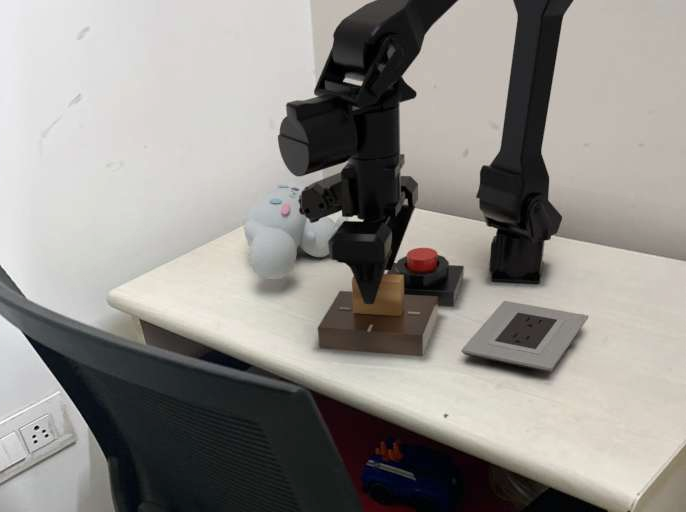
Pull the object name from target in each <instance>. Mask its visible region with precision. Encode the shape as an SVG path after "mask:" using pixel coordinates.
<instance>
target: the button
mask: <svg viewBox="0 0 686 512" xmlns="http://www.w3.org/2000/svg"><path fill="white" fill-rule="evenodd" d="M437 255H438V252H437V250H436V249H433V248H430V247H417V248H413V249H410V250H409V251H408V252H406V256H407V268H408V269H409V270H412V271H420V272H424V271H429V270H433V269H435V268H436V267H437Z"/></svg>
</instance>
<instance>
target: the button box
mask: <svg viewBox="0 0 686 512" xmlns="http://www.w3.org/2000/svg"><path fill="white" fill-rule="evenodd" d="M464 268H465V266H464V265H453V264H450V262H449V261H448V259H447V258H446V257H445V256H443V255H439V254H437V267H436V268H435V269H433V270H429V271H424V272H420V271H412V270H409V269H408V268H407V255H405V256H403V257H401V258H398V260H397V261H396V262H394V264H393V267H392V269H391V270H387V272H386V274H396V275H404V295H421V296H438V307H448V308H454V306H455V304H456V302H457V298H458V296H459V293H460V290H461V287H462V284H463V282H464V271H465V269H464Z"/></svg>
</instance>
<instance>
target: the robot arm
mask: <svg viewBox="0 0 686 512" xmlns="http://www.w3.org/2000/svg"><path fill="white" fill-rule="evenodd" d="M457 2H459V0H373V1H371V2H368V3H366V4H364V5H363V6H361V7H360V8H358V9H356V10H355V11H354V12H352V13H351V14H349V15H348V16H346V17H344V18H343V19H342V20H341V21H339V24H338V25H337V26H336V27H335V30H334V32H333V35H332V37H333V41H332V47H331V49H330V51H329V54H328V56H327V58H326V61H325V64H324V66H323V68H322V71H321V73H320V75H319V78H318V79H317V83H316V85H315V87H314V90H313V94H314V97H312V98H308V99H304V100H300V99H296V100H292V101H288V102H286V104H285V110H286V111H285V112H286V116H285V117H284V118H282V120H281V123H280V126H279V134H278V135H277V142H278V144H277V145H278V148H279V153H280V156H281V159H282V161H283V163H284V165H285V167H286V168H287V170H288V172H290V173H291V174H292V175H293V176H295V177H304V176H306V175H310V174H313V173H316V172H320V171H322V170H326V169H329V168H332V167H334V166H338V165H342V164H344V163H346V162H347V163H346V164H345V165H344V167H343V168H342V169H341V170H340V172H337V173H334V174H332V175H329V176H327V177H325V178H322V179H319V180H317V181H314V182H312V183H310V185H309V186H307V187H305V188H304V190H303V191H302V192H301V195H300V196H299V198H300V199H299V200H298V201H299V204H300V208H299V212H300V214H302V215H305V217H307V218H308V219H309V221H310V223H314V222H317V221H319V219H320V218H323V217H326V216H327V217H329V216H331V215H335V214H336V213H339V212H341V216H342V217H348V218H353V217H356V218H357V219H359V221H358V220H348V221H344V222H343V223H342V224H341V225H340V226H339V227H338V228H337V229H336V231H335V232H334V234H333V235H332V236H331V238H330V239H329V241H328V245H329V254H328V258H329V259H330V260H332V261H336V262H337V263H339V264H345V265H346V266H347V267H349V269H350V270H351V272H352V275H353V277H355V280H356V282H357V285H358V288H359V290H360V293H361V296H362V298H363V301H364V303H365V304H373V303H374V301H375V299H376V296H377V293H378V290H379V287H380V284H381V281H382V278H383V275H384V274H385V272H386V271H388V270H391V269H392V267H393V264H394V263H395V261H396V259H397V257H398V253H399V250H400V248H401V245H402V242H403V240H404V238H405V236H406V232H407V230H408V228H409V225H410V222H411V219H412V217H413V214H414V213H415V211H416V210H415V209H416V205H417V202H418V200H419V183H418V182H417V181H416V180H415V179H414V178H413V177H412V176H410V175H402V174H401V169H402V168H403V167H404V165H405V164H406V163H405V162H406V161H405V154H404V153H401V117H400V115H401V114H400V111H401V109H400V107H401V106H400V104H401V103H403V102H408V101H411V100H414V99H416V98H417V95H418V93H417V91H416V90H415V89H414V88H412V86H410V85H409V84H408V83H407V82H406V81H405V79H404V77H403V76H404V75H405V73H406V72H407V70H408V69H409V68H410V66H411V65H412V64H413V63H414V62H415V60H416V59H417V57H418V56H419V55H420V53H421V50H422V47H423V44H424V40H425V37H426V35H427V33H428V32H429V31H430V29H431V28H432V27H433V25H435V24H436V23H437V22H438V21H439V20H440V19H441V18H442V17H443V16H444V15H445V14H446V13H447V12H448V11H449V10H450V9H451V8H452V7H453V6H454V5H455V4H456V3H457ZM512 2H513V4H514V7H515V10H516V15H517V17H516V18H517V19H516V27H515V36H514V43H513V50H512V58H511V65H510V66H511V67H510V72H509V81H508V88H507V96H506V102H505V111H504V119H503V125H502V126H503V127H502V133H501V141H500V147H499V151H498V153H496V155H495V157H494V158H493V159H492V161H491V163H489V165H488V164H487V165H485V164H483V165H482V166H481V167H480V170H479V185H478V190H477V192H476V195H475V198H476V199H479V200H478V203H479V204H478V205H479V206H478V207H479V210H480V211H481V212H482V213H483V216H484V221H485V224H486V226H487V227H489V228H493V229H496V232H495V235H494V236H493V237H492V240H491V243H490V252H489V253H490V255H489V270H488V271H489V272H490V273H491V276H490V281H491V282H492V283H493V282H494V283H508V284H509V283H511V284H528V285H529V284H533V285H539V284H540V283H541V280H542V275H543V270H544V263H545V262H544V254H545V253H544V252H545V244H546V241H550V240H551V238H552V236H554V235H556V234H558V233H559V229H560V226H561V223H562V220H563V215H562V214H561V213H560V212H559V211H558V210H557V208H556V207H555V206H554V205H553V203H551V202H550V200H549V192H550V174H549V172H548V168H547V166H546V162H545V160H544V156H543V154H542V149H543V142H544V136H545V130H546V125H547V123H546V122H547V119H548V113H549V106H550V99H551V94H552V88H553V81H554V74H555V70H556V69H555V68H556V63H557V57H558V50H559V43H560V38H561V37H560V36H561V31H562V26H563V20H564V16H565V14H566V12H567V11H568V9H569V8H570V7H571V5H572V3H573V2H574V0H512ZM345 79H351V80H353V81H357V82H358V81H359V82H362V83H361V85H359V84H355V83H351V82H347V81H344V80H345ZM406 200H407V204H405V202H406Z"/></svg>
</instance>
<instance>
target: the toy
mask: <svg viewBox="0 0 686 512" xmlns="http://www.w3.org/2000/svg"><path fill="white" fill-rule="evenodd" d="M309 185H311V183H309V182H308V181H306V180H302V179H292V180H289V181H287V182H286V183H284V184H278V185H277V187H276V188H273V189H270V190H268V191H265V192H263V193H262V194H260V195H259V196H257V197H255V198H254V199H253V200H251V202H250V203H249V205H248V206H247V207H246V209H245V212H244V215H243V216H244V217H243V231H244V236H245V239H246V242H247V245H248V247H249V253H248V256H249V263H250V266H251V268H252V270H253V271H254V272H255V274H257V275H258V276H261V277H262V278H265V279H267V280H279V279H282V278H285V277H286V276H287V275H289V273H290V272H291V271H292V270H293V268H294V267H295V264H296V260H297V252H298V251H297V250H298V248H299V247H300V249H302V250H303V252H305V253H306V254H307V255H310V256H311V257H315V258H323V257H327V256H329V245H328V241H329V239H330V238H331V236H332V235H333V234H334V232H335V231H336V229H337V228H338V227H339V226H340V225H341V224H342V223H343V222H344V221H349V217H342V215H340V216H339V217H338V218H337V219H336V221H334V220H333V219H332V218H331V217H329V216H326V217H323V218H320V219H319V221H317V222H314V223H310V221H309V219H308V218H307V217H305V215H302V214H300V212H299V208H300V204H299V201H298V200H299V199H300V198H299V196H300V195H301V192H302V191H303V190H304V188H305V187H307V186H309Z"/></svg>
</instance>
